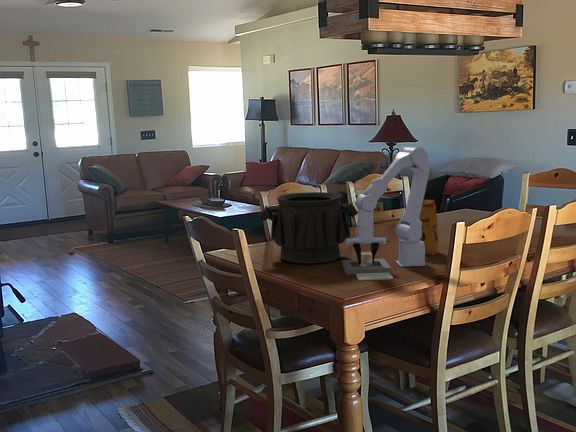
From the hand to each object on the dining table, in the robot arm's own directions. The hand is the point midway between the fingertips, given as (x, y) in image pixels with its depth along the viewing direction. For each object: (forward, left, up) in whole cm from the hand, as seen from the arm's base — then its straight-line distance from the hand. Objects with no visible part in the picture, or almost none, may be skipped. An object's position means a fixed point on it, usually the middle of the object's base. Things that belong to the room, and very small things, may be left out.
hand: (365, 263), depth 234 cm
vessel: (+19, -21, -2) cm, 28 cm away
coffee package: (-27, -23, -2) cm, 36 cm away
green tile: (-1, +11, -2) cm, 12 cm away
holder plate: (0, 0, -2) cm, 2 cm away
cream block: (0, 0, -2) cm, 2 cm away
